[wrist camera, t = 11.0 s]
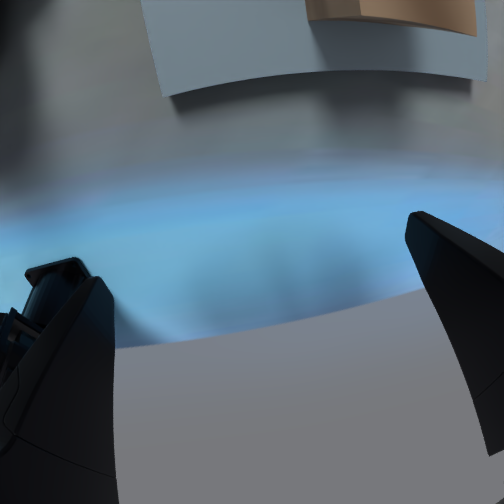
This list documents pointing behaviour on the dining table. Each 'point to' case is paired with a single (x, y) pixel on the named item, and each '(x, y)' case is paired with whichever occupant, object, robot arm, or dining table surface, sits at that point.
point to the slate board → (294, 43)
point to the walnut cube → (399, 13)
